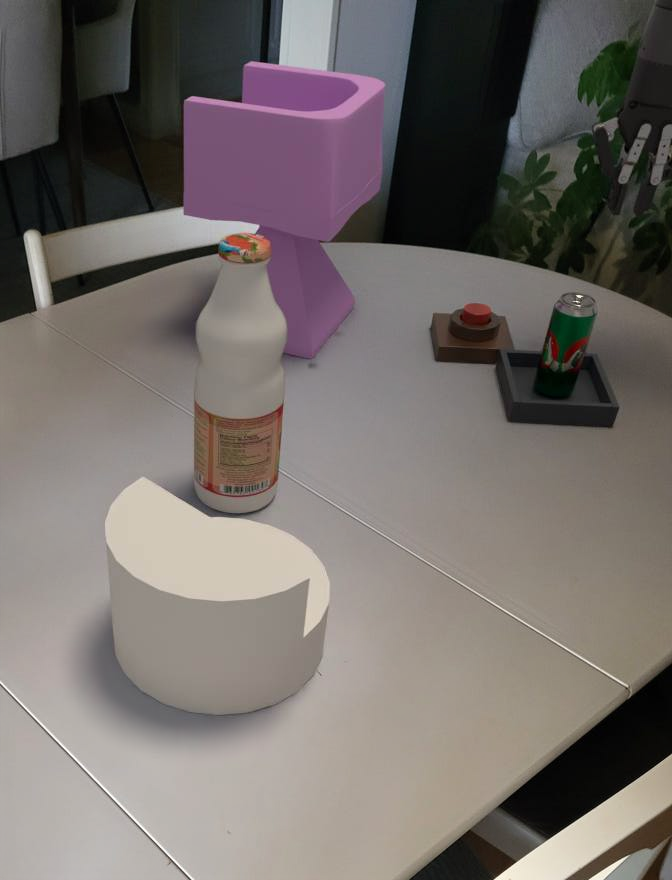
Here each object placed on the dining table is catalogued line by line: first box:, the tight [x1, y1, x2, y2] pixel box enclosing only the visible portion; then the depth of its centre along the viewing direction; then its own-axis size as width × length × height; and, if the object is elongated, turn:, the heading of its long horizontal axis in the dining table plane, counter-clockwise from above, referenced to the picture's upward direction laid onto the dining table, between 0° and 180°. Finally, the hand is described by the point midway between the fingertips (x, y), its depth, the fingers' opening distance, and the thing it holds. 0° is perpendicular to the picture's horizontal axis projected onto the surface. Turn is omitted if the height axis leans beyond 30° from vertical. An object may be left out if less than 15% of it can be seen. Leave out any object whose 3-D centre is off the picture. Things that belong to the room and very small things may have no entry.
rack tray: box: [494, 349, 620, 428], centre depth 124 cm, size 13×14×3 cm
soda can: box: [533, 291, 599, 398], centre depth 121 cm, size 5×5×12 cm
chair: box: [182, 60, 386, 360], centre depth 130 cm, size 20×20×30 cm
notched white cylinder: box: [104, 476, 331, 716], centre depth 88 cm, size 20×20×13 cm
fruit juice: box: [193, 232, 287, 514], centre depth 100 cm, size 9×9×28 cm
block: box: [430, 307, 516, 365], centre depth 134 cm, size 10×10×4 cm
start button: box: [462, 302, 492, 326], centre depth 132 cm, size 4×4×2 cm
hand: (626, 212), depth 120 cm, fingers closed
